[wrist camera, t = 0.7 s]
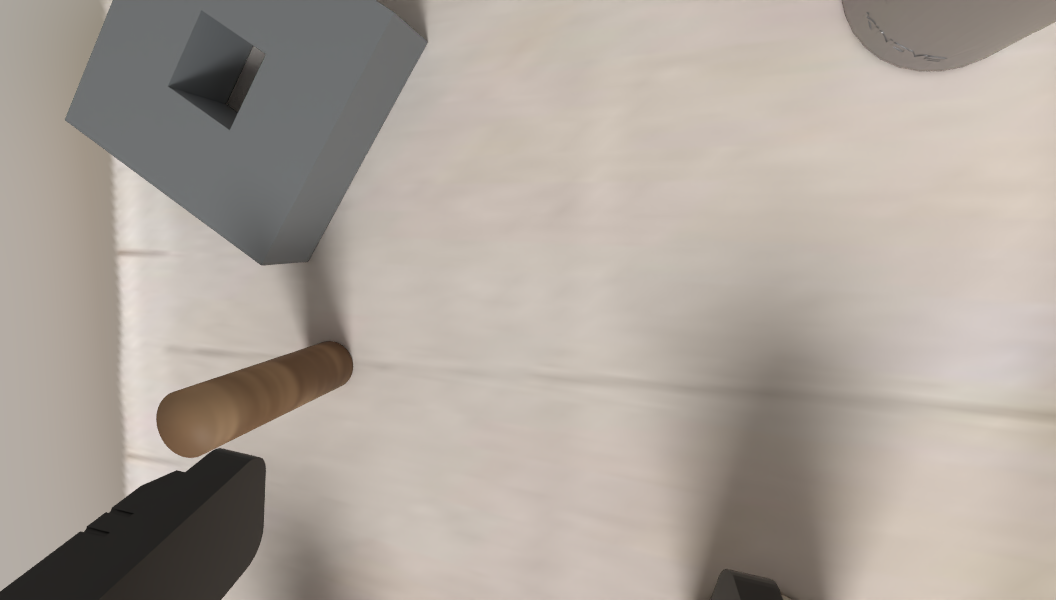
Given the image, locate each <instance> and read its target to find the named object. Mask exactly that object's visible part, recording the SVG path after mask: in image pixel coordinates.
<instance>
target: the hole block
mask: <svg viewBox="0 0 1056 600" xmlns="http://www.w3.org/2000/svg"><path fill="white" fill-rule="evenodd" d="M427 43H428V42H427V41H426V40H425V39H424V38H423V37H422V36H420V35H419V34H418V33H417V32H416V31H415V30H414V29H413V28H411V27H410V26H409V25H408V24H407V23H406V22H405V21H403V20H402V19H401V18H400V17H399V16H398V15H397V14H395V13H394V12H393V11H391V10H390V9H388V8H387V7H385V6H384V5H382V4H381V3H379V2H377V1H376V0H113V1H112V4H111V6H110V9H109V11H108V14H107V16H106V19H105V21H104V24H103V26H102V29H101V31H100V34H99V36H98V39H97V41H96V44H95V46H94V49H93V51H92V53H91V56H90V58H89V61H88V63H87V66H86V68H85V71H84V74H83V76H82V78H81V81H80V83H79V86H78V88H77V91H76V93H75V96H74V98H73V101H72V103H71V106H70V108H69V111H68V113H67V116H66V118H65V121H67V122H68V123H70V124H71V125H72V126H74V127H75V128H76V129H78V130H79V131H80V132H82V133H83V134H84V135H86V136H87V137H89V138H90V139H91V140H93V141H94V142H95V143H97V144H98V145H99V146H101V147H102V148H103V149H105V150H106V151H107V152H109V153H110V154H111V155H113V156H114V157H115V158H117V159H118V160H120V161H121V162H122V163H124V164H125V165H126V166H128V167H129V168H130V169H132V170H133V171H134V172H136V173H137V174H138V175H140V176H141V177H143V178H144V179H145V180H147V181H148V182H149V183H151V184H152V185H153V186H155V187H156V188H157V189H159V190H160V191H161V192H163V193H164V194H166V195H167V196H168V197H170V198H171V199H172V200H174V201H175V202H176V203H178V204H179V205H180V206H182V207H183V208H184V209H186V210H187V211H189V212H190V213H191V214H193V215H194V216H195V217H197V218H198V219H199V220H201V221H202V222H203V223H205V224H206V225H207V226H209V227H210V228H211V229H213V230H214V231H216V232H217V233H218V234H220V235H221V236H222V237H224V238H225V239H226V240H228V241H229V242H230V243H232V244H233V245H234V246H236V247H237V248H239V249H240V250H241V251H243V252H244V253H245V254H247V255H248V256H249V257H251V258H252V259H253V260H255V261H256V262H257V263H259V264H260V265H273V264H286V263H298V262H308V261H309V259H310V257H311V255H312V253H313V251H314V250H315V248H316V246H317V244H318V242H319V240H320V239H321V237H322V235H323V233H324V231H325V229H326V228H327V226H328V224H329V222H330V220H331V218H332V217H333V215H334V213H335V211H336V209H337V207H338V206H339V204H340V202H341V200H342V198H343V196H344V195H345V193H346V191H347V189H348V187H349V185H350V184H351V182H352V180H353V178H354V176H355V174H356V173H357V171H358V169H359V167H360V165H361V163H362V162H363V160H364V158H365V156H366V154H367V153H368V151H369V149H370V147H371V145H372V143H373V142H374V140H375V138H376V136H377V134H378V132H379V131H380V129H381V127H382V125H383V123H384V121H385V120H386V118H387V116H388V114H389V112H390V110H391V109H392V107H393V105H394V103H395V101H396V99H397V98H398V96H399V94H400V92H401V90H402V88H403V87H404V85H405V83H406V81H407V79H408V77H409V76H410V74H411V72H412V70H413V68H414V66H415V65H416V63H417V61H418V59H419V57H420V55H421V54H422V52H423V50H424V48H425V46H426V44H427ZM253 46H255V47H256V48H258V49H259V50H261V51H262V52H263V53H265V54H266V55H265V57H264V59H263V62H262V64H261V66H260V68H259V70H258V72H257V74H256V76H255V78H254V80H253V82H252V85H251V87H250V89H249V91H248V93H247V95H246V97H245V99H244V101H243V103H242V105H241V108H240V110H239V112H238V113H237V112H236V111H235V110H233V109H232V108H230V107H229V106H227V105H226V102H227V100H228V98H229V96H230V94H231V92H232V90H233V88H234V85H235V83H236V81H237V79H238V77H239V75H240V73H241V71H242V68H243V66H244V64H245V62H246V60H247V58H248V56H249V54H250V51H251V49H252V47H253Z"/></svg>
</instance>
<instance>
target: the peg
mask: <svg viewBox="0 0 1056 600" xmlns="http://www.w3.org/2000/svg"><path fill="white" fill-rule="evenodd" d="M352 371H353V362H352V358H351V356H350V354H349V352H348V351H347V349H346V348H345V347H343V346H342V345H341V344H339V343H337V342H333V341H326V342H322V343H319V344H316V345H313V346H310V347H307V348H304V349H301V350H298V351H295V352H292V353H289V354H286V355H283V356H280V357H277V358H274V359H271V360H268V361H265V362H262V363H259V364H256V365H253V366H250V367H247V368H244V369H241V370H238V371H235V372H232V373H229V374H226V375H223V376H220V377H217V378H214V379H211V380H208V381H205V382H202V383H199V384H196V385H193V386H190V387H187V388H184V389H181V390H178V391H175V392H172V393H170V394H168V395H167V396H166V397H165V398H164V399H163V400H162V401H161V403H160V405H159V407H158V410H157V419H156V420H157V427H158V431H159V434H160V436H161V438H162V440H163V441H164V443H165V444H166V445H167V447H168V448H169V449H170V450H172V451H173V452H174V453H176V454H178V455H180V456H183V457H188V458H194V457H198V456H201V455H203V454H205V453H207V452H209V451H211V450H213V449H215V448H217V447H219V446H221V445H223V444H225V443H227V442H229V441H231V440H233V439H235V438H237V437H239V436H241V435H243V434H245V433H247V432H249V431H251V430H253V429H255V428H257V427H259V426H261V425H263V424H265V423H267V422H269V421H271V420H273V419H275V418H277V417H280V416H282V415H284V414H286V413H288V412H290V411H292V410H294V409H296V408H298V407H300V406H302V405H304V404H306V403H308V402H310V401H312V400H314V399H316V398H318V397H320V396H322V395H324V394H326V393H328V392H330V391H332V390H334V389H336V388H338V387H340V386H342V385H344V384H345V383H346V382H347V381H348V380H349V379H350V377H351V375H352Z"/></svg>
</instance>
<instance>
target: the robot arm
mask: <svg viewBox="0 0 1056 600" xmlns="http://www.w3.org/2000/svg"><path fill="white" fill-rule="evenodd" d="M842 1H843V6H844V11H845V16H846V18H847V20H848V22H849V25H850V27H851V29H852V31H853V33H854V34H855V35H856V37H857V38H858V39H859V40H860V42H861V43H862V44H863V45H864V47H865V48H867V49H868V50H869V51H870V52H872V53H873V54H874V55H876V56H877V57H878V58H880V59H881V60H884V61H886V62H888V63H890V64H893V65H895V66H897V67H900V68H905V69H910V70H915V71H945V70H950V69H955V68H960V67H964V66H967V65H969V64H972V63H974V62H977V61H979V60H982V59H985V58H986V57H988V56H990V55H992V54H994V53H996V52H998V51H1000V50H1002V49H1004V48H1006V47H1008V46H1009V45H1011V44H1013V43H1015V42H1017V41H1019V40H1021V39H1023V38H1025V37H1027V36H1029V35H1031V34H1032V33H1034V32H1037V31H1039V30H1041V29H1043V28H1045V27H1047V26H1049V25H1050V24H1052V23H1054V22H1056V0H842ZM265 476H266V466H265V462H264V460H263V459H262V458H260V457H256V456H252V455H248V454H243V453H239V452H235V451H231V450H226V449H222V448H219V449H215V450H213V451H212V452H210V453H209V454H208V455H206V456H205V457H204V458H203V459H201V460H200V461H199V462H198V463H196V464H195V465H194V466H193V467H191V468H190V469H189V470H188V471H186V472H181V471H177V470H176V471H174V472H172V473H170V474H167V475H165V476H163V477H160V478H158V479H156V480H154V481H151V482H149V483H147V484H144V485H142V486H140V487H139V488H138V489H136V490H135V491H134V492H132V493H131V494H130V495H128V496H127V497H126V498H124V499H123V500H122V501H120V502H119V503H118V504H117V505H115V506H114V507H112V509H111V512H110V513H107V512H106V513H104V514H103V515H102V516H100V517H99V518H98V519H96V520H95V521H94V522H92V523H91V524H90V525H88V526H87V529H86V530H85V531H84V532H79V533H78V534H76V535H75V536H74V537H72V538H71V539H70V540H68V541H67V542H66V543H64V544H63V545H62V546H60V547H59V548H58V549H56V550H55V551H54V552H52V553H51V554H50V555H49V556H47V557H46V558H44V559H43V560H42V561H40V562H39V563H38V564H36V565H35V566H34V567H32V568H31V569H30V570H28V571H27V572H26V573H24V574H23V575H22V576H20V577H19V578H18V579H16V580H15V581H14V582H12V583H11V584H10V585H8V586H7V587H6V588H4V589H3V590H2V591H0V600H221V599H222V598H223V597H224V596H225V594H226V593H227V592H228V591H229V590H230V588H231V587H232V586H233V585H234V583H235V582H236V581H237V580H238V579H239V577H240V576H241V575H242V574H243V573H244V571H245V570H246V569H247V568H248V566H249V565H250V563H251V562H252V560H253V558H254V556H255V554H256V552H257V550H258V547H259V545H260V542H261V539H262V534H263V527H264V501H265ZM711 600H783V598H782V595H781V593H780V590H779V588H778V586H777V584H776V583H775V582H774V581H773V580H771V579H767V578H763V577H759V576H755V575H750V574H746V573H742V572H738V571H733V570H729V569H725V570H723V571H722V572H721V574H720V576H719V578H718V581H717V584H716V586H715V589H714V592H713V595H712V598H711Z"/></svg>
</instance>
